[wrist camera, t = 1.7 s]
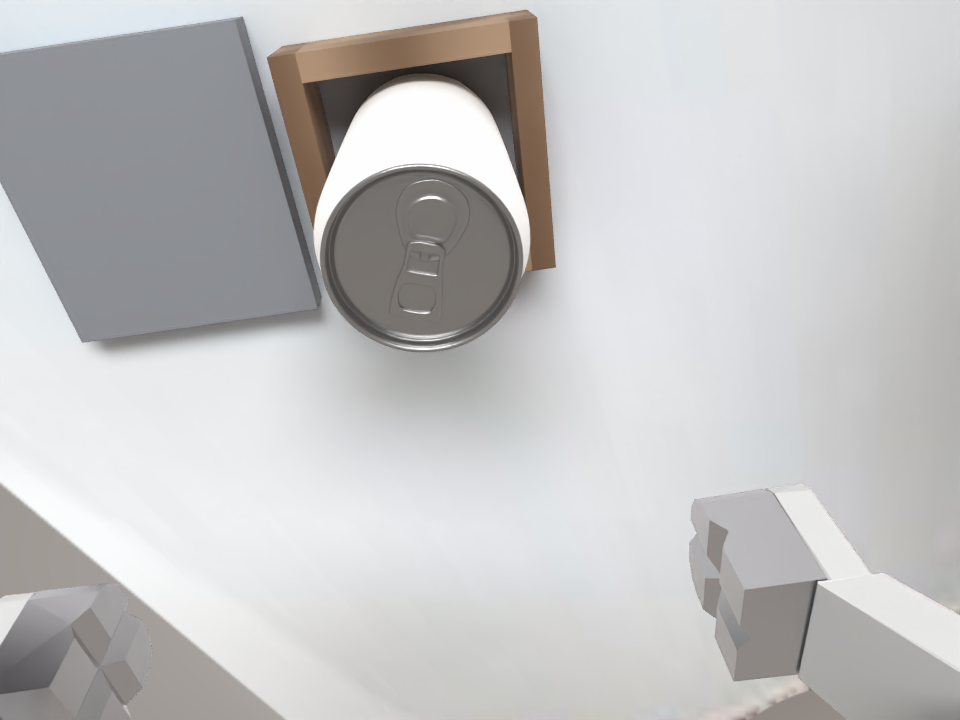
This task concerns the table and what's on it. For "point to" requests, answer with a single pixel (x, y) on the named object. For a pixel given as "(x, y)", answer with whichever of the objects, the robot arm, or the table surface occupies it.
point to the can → (422, 218)
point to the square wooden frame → (411, 48)
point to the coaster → (153, 180)
